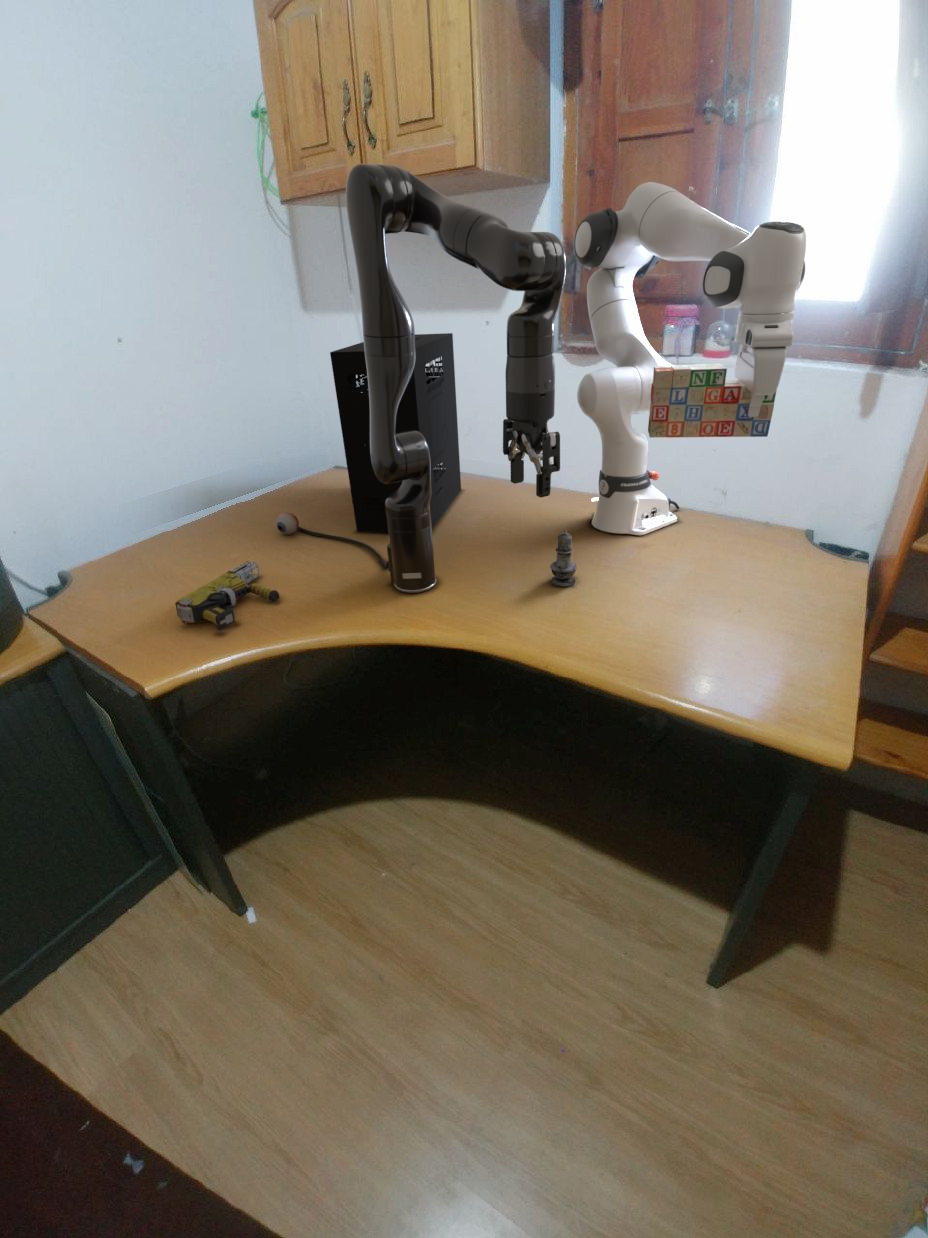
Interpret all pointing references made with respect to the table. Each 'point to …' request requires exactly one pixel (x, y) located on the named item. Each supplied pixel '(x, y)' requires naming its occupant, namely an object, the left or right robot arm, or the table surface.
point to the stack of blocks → (703, 404)
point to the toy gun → (222, 597)
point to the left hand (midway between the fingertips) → (529, 489)
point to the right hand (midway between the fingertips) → (748, 411)
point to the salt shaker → (563, 562)
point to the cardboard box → (400, 426)
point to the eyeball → (287, 523)
